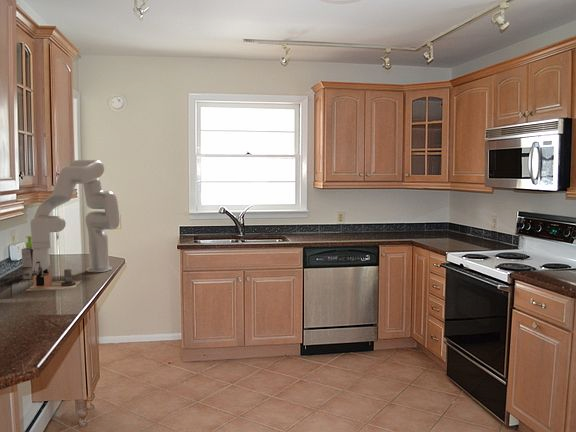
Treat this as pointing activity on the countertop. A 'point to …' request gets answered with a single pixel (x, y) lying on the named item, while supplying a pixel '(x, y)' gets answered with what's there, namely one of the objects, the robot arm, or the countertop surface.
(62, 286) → the post board
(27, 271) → the coffee box
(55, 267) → the countertop surface
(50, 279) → the collar
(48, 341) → the countertop surface
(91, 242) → the robot arm
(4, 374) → the countertop surface
